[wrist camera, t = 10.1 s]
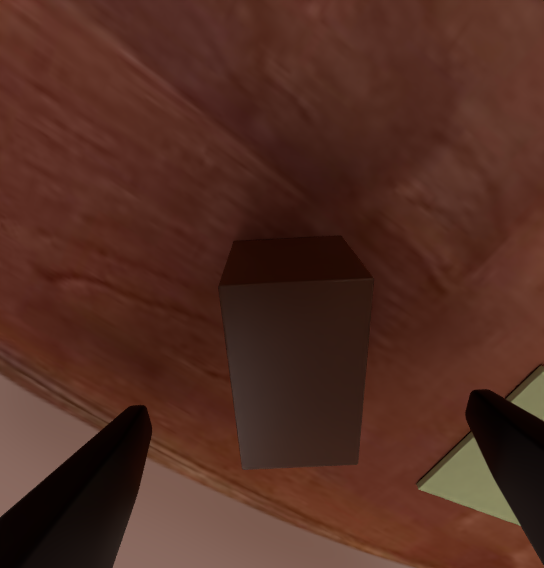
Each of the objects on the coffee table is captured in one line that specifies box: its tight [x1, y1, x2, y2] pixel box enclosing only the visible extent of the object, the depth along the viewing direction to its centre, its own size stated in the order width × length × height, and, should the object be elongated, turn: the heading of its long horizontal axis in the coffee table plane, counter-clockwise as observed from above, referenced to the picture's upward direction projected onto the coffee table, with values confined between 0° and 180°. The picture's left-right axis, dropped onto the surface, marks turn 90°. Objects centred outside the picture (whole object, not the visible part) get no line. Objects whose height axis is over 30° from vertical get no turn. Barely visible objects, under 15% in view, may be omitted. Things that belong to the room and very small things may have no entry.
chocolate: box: [218, 236, 374, 470], centre depth 11 cm, size 7×4×4 cm, turn 3°
